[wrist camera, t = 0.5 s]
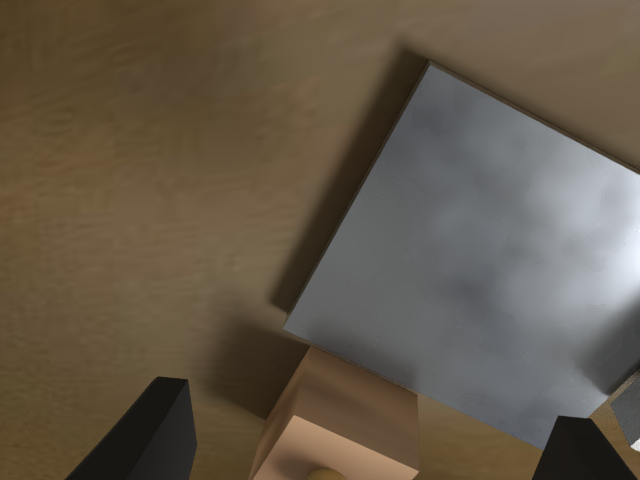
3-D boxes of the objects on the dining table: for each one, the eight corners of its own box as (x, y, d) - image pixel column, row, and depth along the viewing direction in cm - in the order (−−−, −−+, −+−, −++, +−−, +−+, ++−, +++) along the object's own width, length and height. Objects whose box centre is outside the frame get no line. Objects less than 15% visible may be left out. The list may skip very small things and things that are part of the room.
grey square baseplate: (543, 434, 23) (549, 453, 22) (287, 314, 22) (282, 328, 21) (751, 229, 18) (770, 243, 17) (428, 59, 17) (430, 64, 16)
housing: (363, 461, 25) (353, 580, 20) (266, 418, 25) (232, 529, 20) (417, 392, 23) (420, 508, 18) (311, 343, 23) (285, 448, 18)
